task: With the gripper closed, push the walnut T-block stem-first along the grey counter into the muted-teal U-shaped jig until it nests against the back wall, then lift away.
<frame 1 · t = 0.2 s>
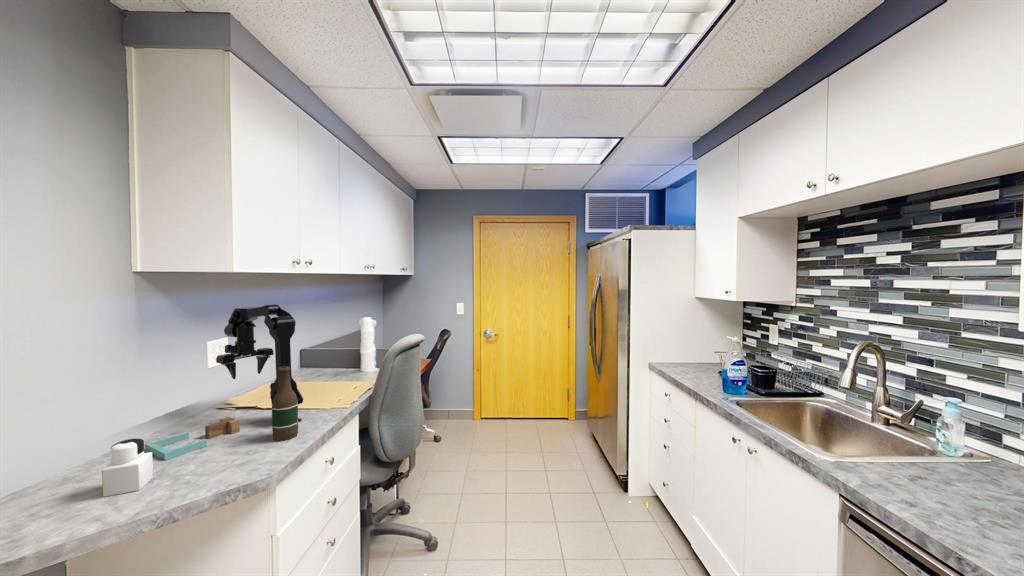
hand: (246, 376, 151), 14 cm above the worktop, fingers open, 9 cm apart
beer bottle: (285, 437, 127), on the worktop
t block: (221, 433, 129), on the worktop
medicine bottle: (129, 487, 97), on the worktop
jig: (177, 447, 119), on the worktop
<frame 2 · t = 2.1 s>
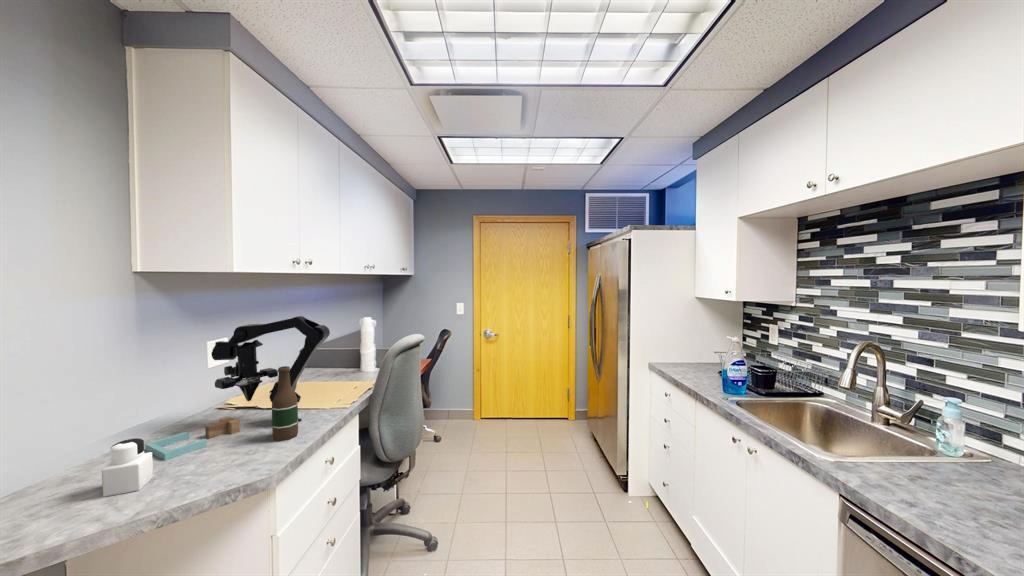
hand: (248, 400, 137), 9 cm above the worktop, fingers closed
nothing on the worktop moved.
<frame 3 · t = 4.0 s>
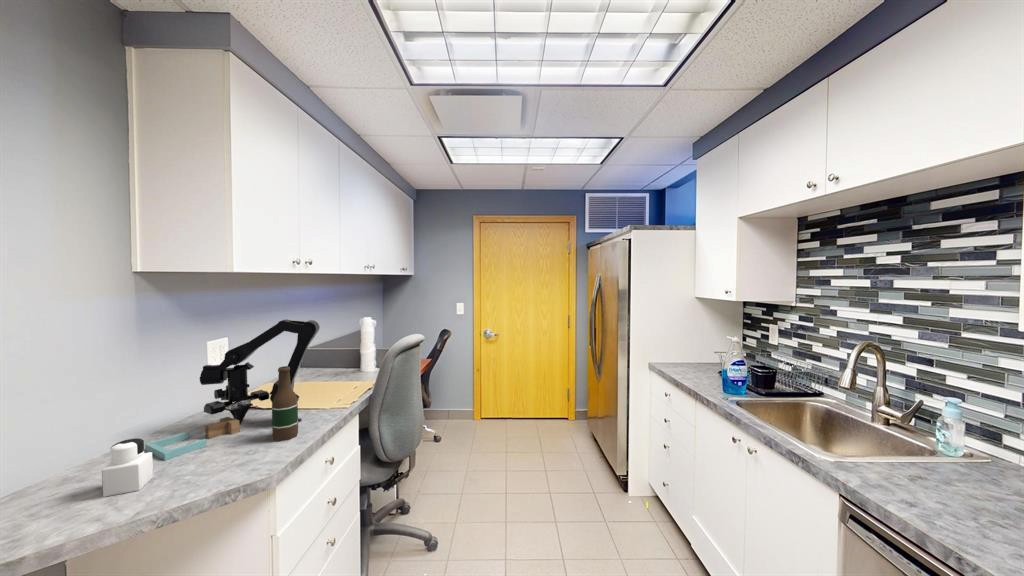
hand: (238, 424, 134), 1 cm above the worktop, fingers closed
t block: (220, 433, 129), on the worktop, touching gripper
everything else where it was.
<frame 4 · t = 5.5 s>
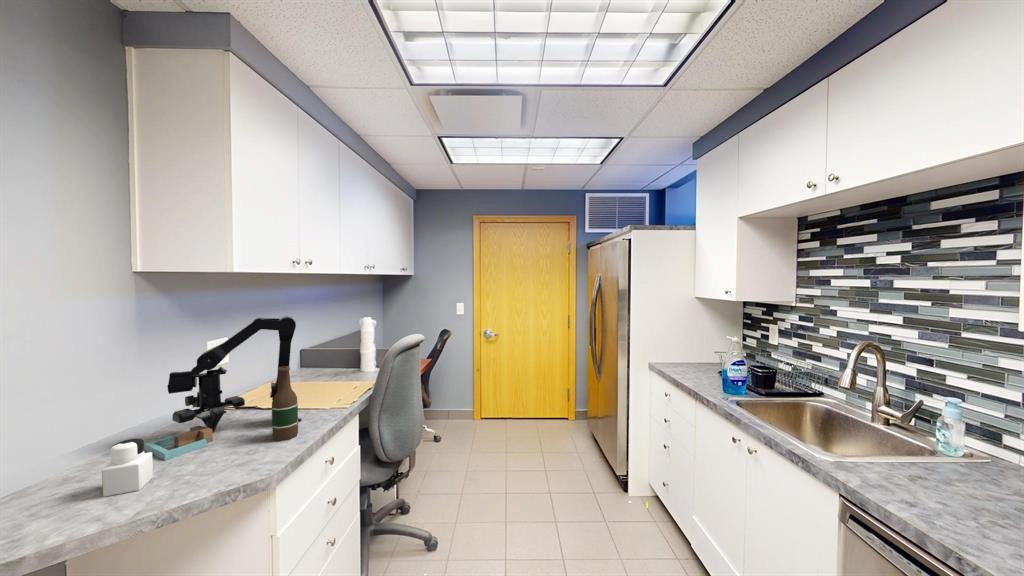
hand: (211, 433, 127), 1 cm above the worktop, fingers closed
t block: (191, 443, 122), on the worktop, touching gripper
everything else where it was.
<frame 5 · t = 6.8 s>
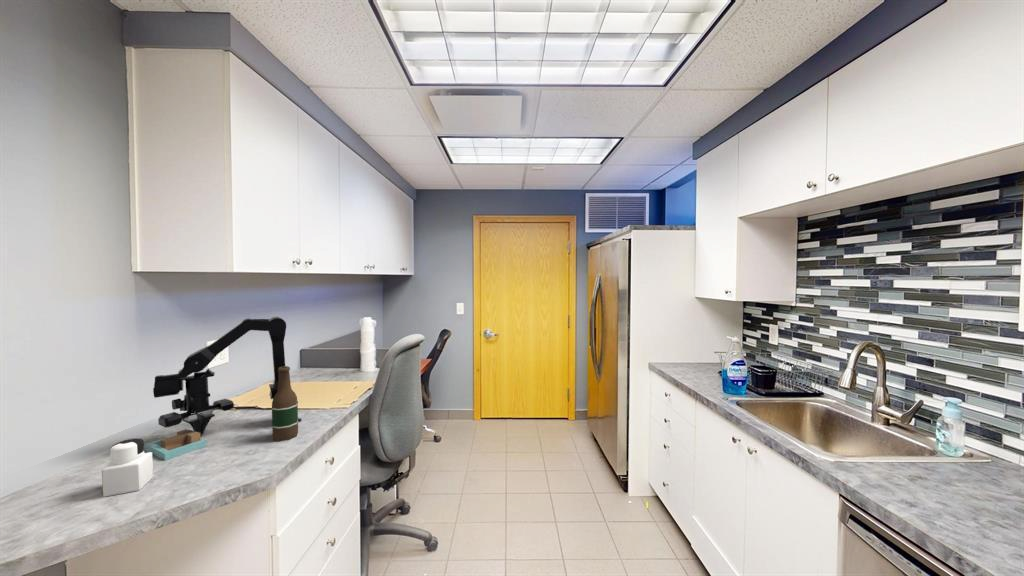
hand: (199, 437, 124), 1 cm above the worktop, fingers closed
t block: (178, 448, 119), on the worktop, touching gripper, jig
everything else where it was.
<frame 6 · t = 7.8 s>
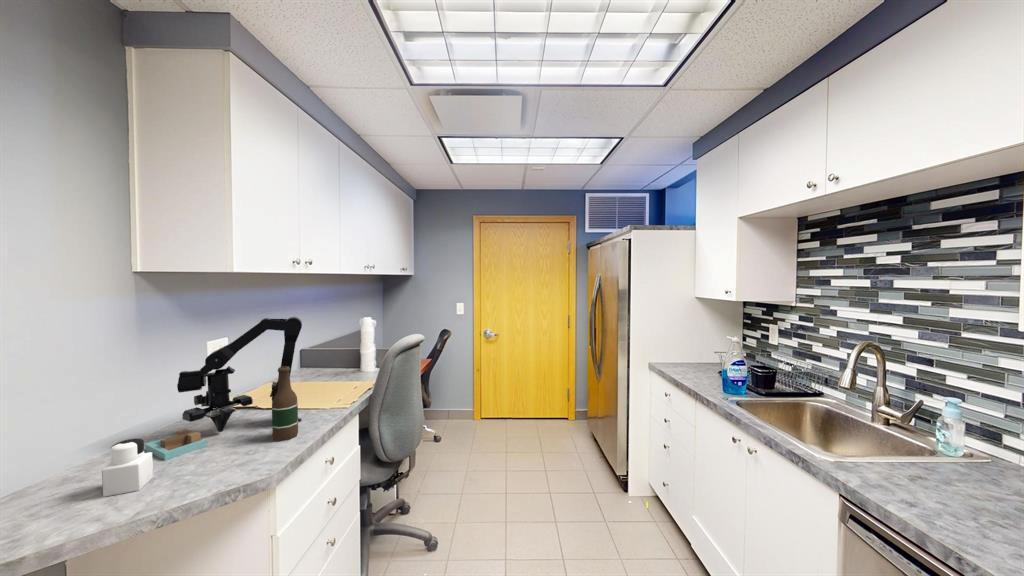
hand: (220, 431, 129), 1 cm above the worktop, fingers closed
t block: (178, 448, 119), on the worktop
everything else where it was.
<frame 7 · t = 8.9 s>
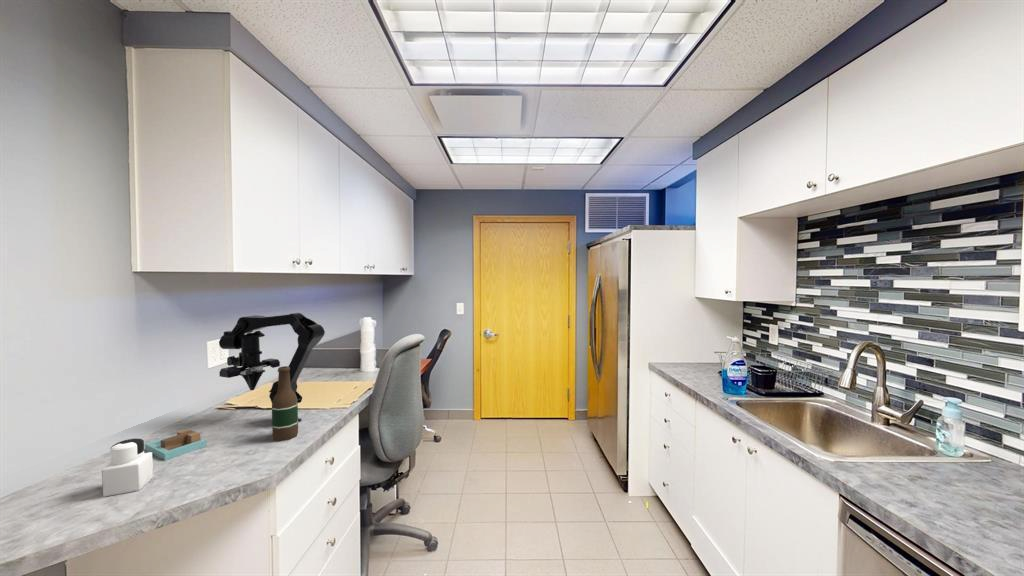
hand: (252, 390, 140), 12 cm above the worktop, fingers closed
nothing on the worktop moved.
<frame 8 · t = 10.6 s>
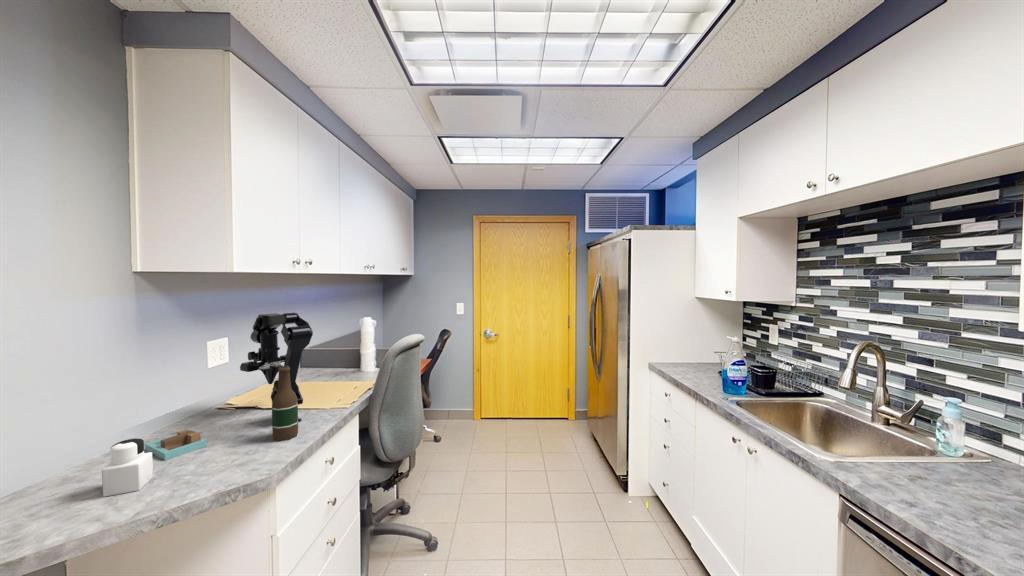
hand: (270, 384, 148), 12 cm above the worktop, fingers closed
nothing on the worktop moved.
at the end: t block 1.1 cm from the target spot on the jig, point 0.0 cm above the jig's base; t block tilted 0° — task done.
